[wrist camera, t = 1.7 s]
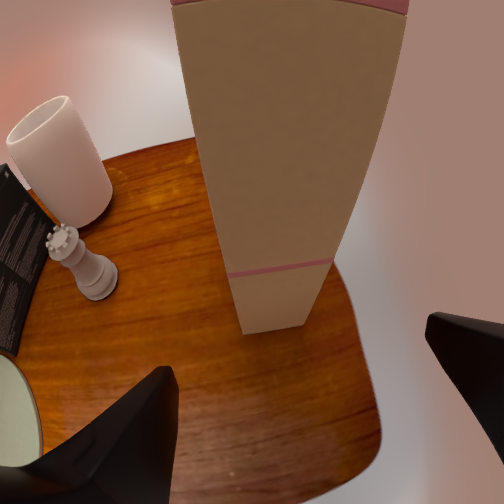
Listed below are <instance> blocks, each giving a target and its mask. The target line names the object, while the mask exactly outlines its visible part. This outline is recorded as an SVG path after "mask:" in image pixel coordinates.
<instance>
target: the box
mask: <svg viewBox="0 0 504 504" xmlns="http://www.w3.org/2000/svg"><path fill="white" fill-rule="evenodd" d="M55 226H57V225H56V224H55V223H54V222H53V221H52V220H51V219H50V218H49V217H48V215H47V214H46V213H45V212H44V211H43V210H42V208H41V207H40V206H39V205H38V204H37V203H36V201H35V200H34V199H33V198H32V197H31V195H30V194H29V193H28V192H27V190H26V189H25V188H24V187H23V185H22V184H21V183H20V182H19V180H18V179H17V178H16V176H15V175H14V174H13V172H12V171H11V170H10V168H9V166H8V165H7V163H5V164H3V165H0V350H1V351H3V352H5V353H8V354H10V355H12V356H14V357H15V356H16V353H17V347H18V342H19V338H20V334H21V330H22V326H23V322H24V318H25V315H26V311H27V308H28V305H29V302H30V298H31V295H32V292H33V289H34V287H35V284H36V281H37V278H38V275H39V273H40V270H41V267H42V265H43V262H44V260H45V257H46V255H47V252H48V250H49V249H48V248H47V247H46V242H49V240H48V239H47V236H48V234H49V233H51V234H52V235H53V234H54V233H55V231H54V229H53V228H54V227H55Z"/></svg>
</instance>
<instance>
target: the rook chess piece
mask: <svg viewBox="0 0 504 504" xmlns="http://www.w3.org/2000/svg"><path fill="white" fill-rule="evenodd" d="M61 227H62V228H59V226H58V225H57V226H55V227H54V228H53V229H54V231H55V233H54V234H53V235H52V234H51V233H49V234H48V236H47V239H48V240H49V242H46V247H47V248H48V249H49V255H50V257H51V258H52V259H53V260H56V261H60V262H61V264H62V265H63V266H64V267H68V268H69V269H70V270H71V272H72V273H73V274H74V276H75V279H76V283H77V286H78V289H79V290H80V291H81V292H82V293H83V294H84V295H85V296H86V297H87V298H88V299H91V300H99V299H103V298H105V297H106V296H107V295H109V294H110V293H111V292H112V290H113V289H114V287H115V285H116V282H117V269H116V267H115V264H113V263H112V262H111V261H110V260H109V259H108V258H106V257H105V256H102V255H98V254H93V253H91V252H90V251H89V250H87V249H86V247H85V244H84V242H83V241H82V240H81V239H78V237H79V234H78V231H77V229H76V228H74V227H69V226H67V225H66V224H63V223H62V224H61Z"/></svg>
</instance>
